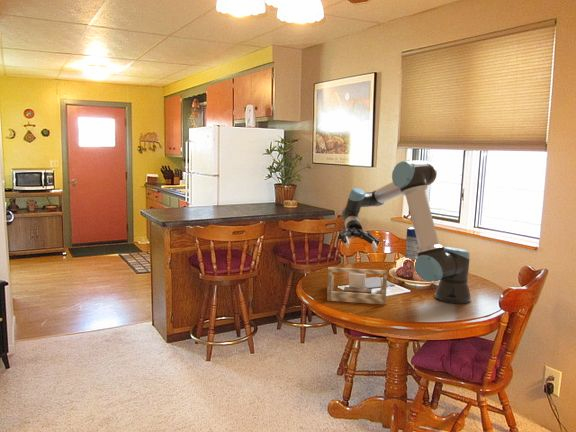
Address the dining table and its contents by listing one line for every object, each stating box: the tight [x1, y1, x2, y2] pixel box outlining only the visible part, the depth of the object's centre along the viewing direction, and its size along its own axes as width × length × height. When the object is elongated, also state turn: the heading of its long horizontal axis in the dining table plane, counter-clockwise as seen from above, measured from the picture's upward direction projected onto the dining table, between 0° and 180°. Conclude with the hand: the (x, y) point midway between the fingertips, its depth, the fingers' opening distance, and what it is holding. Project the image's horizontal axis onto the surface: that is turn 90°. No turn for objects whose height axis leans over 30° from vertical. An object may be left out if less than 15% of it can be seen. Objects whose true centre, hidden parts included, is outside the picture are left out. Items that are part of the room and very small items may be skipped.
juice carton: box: [404, 225, 419, 260], centre depth 259 cm, size 12×8×24 cm, turn 146°
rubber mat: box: [365, 276, 395, 289], centre depth 237 cm, size 15×15×1 cm
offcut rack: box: [326, 266, 388, 305], centre depth 216 cm, size 25×21×15 cm
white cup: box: [348, 273, 367, 288], centre depth 219 cm, size 8×8×10 cm
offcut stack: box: [340, 286, 373, 294], centre depth 212 cm, size 14×6×5 cm, turn 80°
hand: (362, 248), depth 222 cm, fingers open, 13 cm apart
